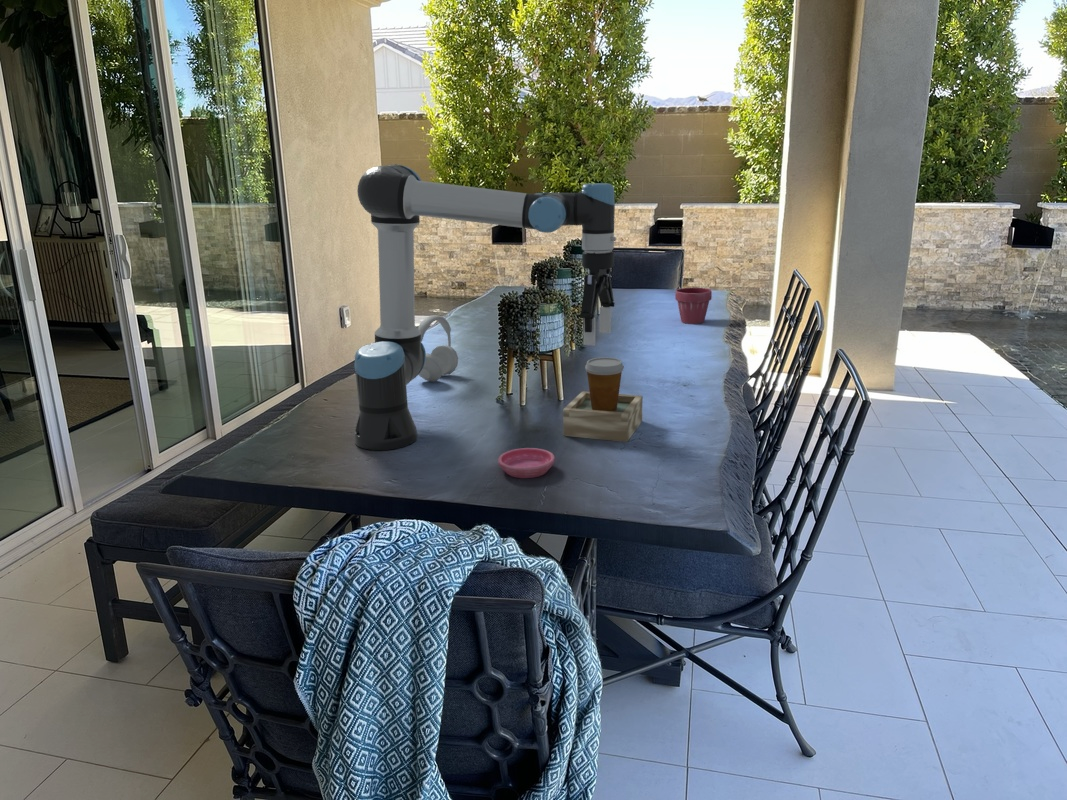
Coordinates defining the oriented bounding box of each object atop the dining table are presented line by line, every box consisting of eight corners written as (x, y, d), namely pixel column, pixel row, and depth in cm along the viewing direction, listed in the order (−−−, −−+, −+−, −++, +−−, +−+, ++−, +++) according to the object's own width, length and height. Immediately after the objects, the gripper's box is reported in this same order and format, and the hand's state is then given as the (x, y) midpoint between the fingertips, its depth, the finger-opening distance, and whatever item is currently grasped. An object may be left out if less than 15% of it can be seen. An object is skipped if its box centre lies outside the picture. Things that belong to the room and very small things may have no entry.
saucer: (487, 474, 175) (486, 460, 174) (519, 456, 185) (519, 443, 184) (534, 486, 168) (534, 472, 167) (565, 466, 178) (565, 453, 177)
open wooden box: (627, 442, 191) (627, 415, 189) (563, 435, 196) (563, 409, 194) (642, 421, 205) (642, 395, 203) (582, 415, 211) (582, 391, 209)
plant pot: (668, 320, 324) (669, 288, 320) (699, 317, 328) (700, 286, 324) (685, 326, 311) (686, 294, 307) (717, 323, 315) (718, 291, 311)
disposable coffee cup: (577, 408, 200) (576, 362, 196) (603, 400, 206) (603, 354, 202) (605, 417, 193) (605, 369, 189) (631, 408, 199) (632, 361, 195)
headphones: (432, 388, 239) (428, 322, 233) (407, 385, 243) (402, 320, 237) (464, 373, 255) (461, 311, 249) (440, 370, 259) (436, 309, 253)
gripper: (598, 258, 176) (597, 351, 183) (626, 245, 199) (625, 329, 205) (566, 257, 179) (566, 349, 185) (597, 244, 201) (597, 327, 208)
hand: (597, 338), depth 195 cm, fingers open, 13 cm apart
